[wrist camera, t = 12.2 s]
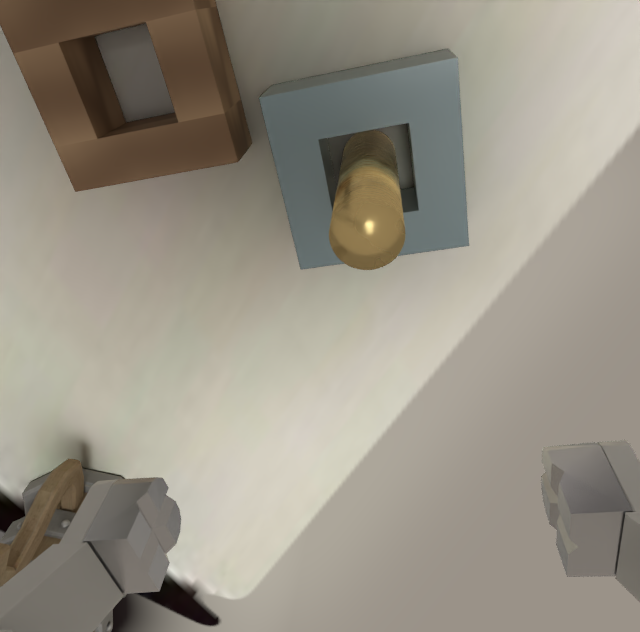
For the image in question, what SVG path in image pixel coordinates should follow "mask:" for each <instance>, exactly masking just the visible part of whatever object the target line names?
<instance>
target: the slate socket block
mask: <svg viewBox="0 0 640 632" xmlns="http://www.w3.org/2000/svg"><path fill="white" fill-rule="evenodd" d="M259 100H260V104H261V108H262V112H263V117H264V121H265V125H266V129H267V133H268V137H269V141H270V145H271V149H272V154H273V158H274V162H275V166H276V170H277V174H278V178H279V182H280V186H281V190H282V195H283V199H284V203H285V207H286V211H287V215H288V219H289V223H290V227H291V232H292V236H293V240H294V244H295V248H296V252H297V256H298V260H299V264H300V269H308V268H315V267H322V266H330V265H337V264H344V262H342V261H341V260H340V259H339V258H338V257H337V256H336V255H335V253H334V252H333V250H332V248H331V245H330V241H329V228H330V223H331V217H332V212H333V206H334V201H335V195H336V190H337V188H336V182H335V177H334V172H333V166H332V161H331V156H330V150H329V145H328V140H327V138H330V137H335V136H341V135H346V134H352V133H357V132H362V131H368V130H373V129H379V128H384V127H389V126H395V125H400V124H406V123H407V125H408V134H409V143H410V153H411V162H412V171H413V180H414V187H413V188H407V189H401V190H400V192H401V200H402V208H403V216H404V224H405V242H404V245H403V248H402V250H401V252H400V253H399V254H398V256H400V255H407V254H414V253H421V252H429V251H436V250H443V249H450V248H457V247H464V246H469V238H468V222H467V205H466V188H465V171H464V155H463V138H462V121H461V104H460V88H459V71H458V57H457V56H456V55H454V54H453V53H452V52H451V51H450V50H449V49H444V50H439V51H434V52H430V53H425V54H420V55H415V56H410V57H405V58H401V59H396V60H391V61H386V62H381V63H377V64H372V65H367V66H362V67H357V68H352V69H348V70H343V71H338V72H333V73H328V74H323V75H319V76H314V77H309V78H304V79H299V80H294V81H290V82H285V83H280V84H275V85H271V86H270V87H269V88H268V89H267V90H266V91H265V92H264V93H263V94H262V95H261V96H260V97H259Z"/></svg>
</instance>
